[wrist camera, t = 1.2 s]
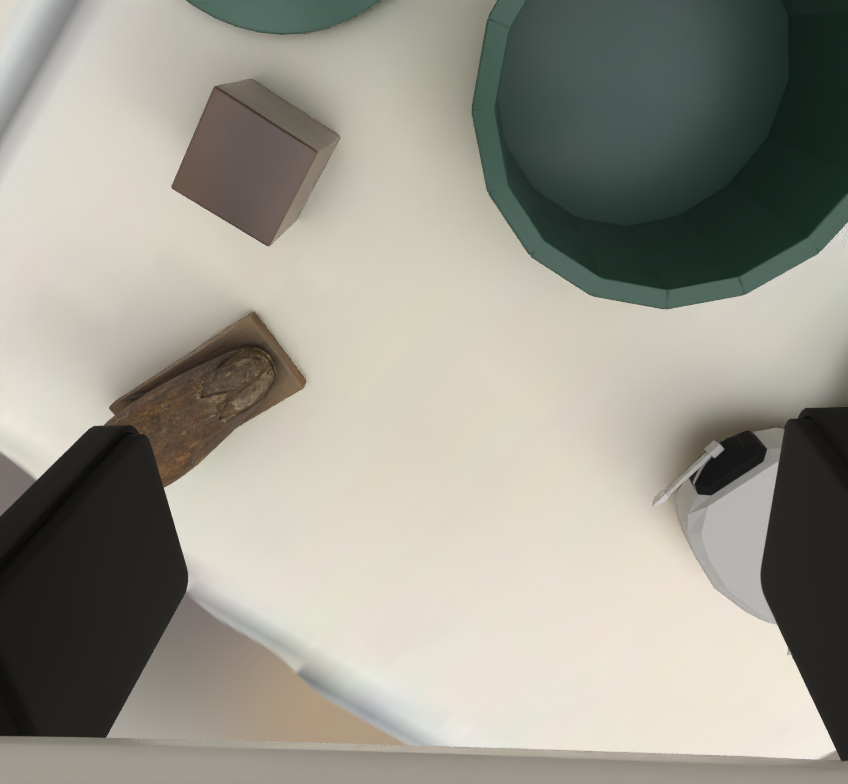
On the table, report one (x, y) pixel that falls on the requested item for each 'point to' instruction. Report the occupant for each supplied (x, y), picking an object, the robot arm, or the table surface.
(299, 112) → the block
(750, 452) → the robot toy
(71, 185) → the table surface
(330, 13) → the lid
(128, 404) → the figurine
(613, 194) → the tin
